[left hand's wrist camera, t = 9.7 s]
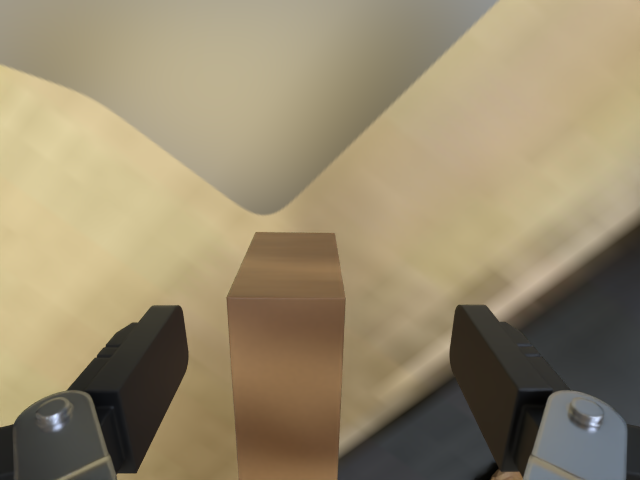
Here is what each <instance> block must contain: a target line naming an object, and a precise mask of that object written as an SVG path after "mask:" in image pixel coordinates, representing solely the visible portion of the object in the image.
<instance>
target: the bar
mask: <svg viewBox="0 0 640 480" xmlns="http://www.w3.org/2000/svg"><path fill="white" fill-rule="evenodd" d="M227 312H228V326H229V341H230V356H231V370H232V385H233V400H234V415H235V429H236V444H237V459H238V473H239V480H337V476H338V453H339V431H340V409H341V386H342V364H343V342H344V320H345V293H344V287H343V281H342V275H341V268H340V262H339V256H338V250H337V244H336V237H335V233H275V232H256V233H255V235H254V237H253V239H252V241H251V244H250V246H249V248H248V250H247V253H246V255H245V257H244V259H243V262H242V264H241V266H240V268H239V271H238V273H237V275H236V277H235V280H234V282H233V284H232V287H231V289H230V291H229V293H228V296H227Z"/></svg>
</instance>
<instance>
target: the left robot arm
mask: <svg viewBox="0 0 640 480" xmlns="http://www.w3.org/2000/svg"><path fill="white" fill-rule="evenodd" d="M450 364H451V368H452V371H453V374H454V376H455V378H456V380H457V382H458V384H459V386H460V388H461V390H462V392H463V395H464V397H465V399H466V401H467V403H468V405H469V407H470V409H471V411H472V413H473V415H474V417H475V419H476V422H477V424H478V426H479V428H480V430H481V432H482V434H483V436H484V438H485V440H486V442H487V444H488V446H489V449H490V451H491V453H492V455H493V457H494V459H495V461H496V463H497V465H498V467H499V469H500V471H501V472H520V474H521V476H522V477H523V480H640V427H638V426H634V425H629V424H626V423H625V421H624V419H623V418H622V417H621V415H620V414H619V413H618V412H617V411H616V410H614V409H613V408H612V407H611V406H609V405H608V404H606V403H605V402H603V401H601V400H599V399H597V398H595V397H593V396H590V395H588V394H585V393H581V392H577V391H571V390H570V389H569V388H568V386H567V385H566V384H565V383H564V382H563V381H562V379H561V378H560V377H559V376H558V375H557V373H556V372H555V371H554V370H553V369H552V368H551V366H550V365H549V364H548V363H547V362H546V361H545V359H544V358H543V357H540V354H539V352H538V351H537V350H536V349H535V348H534V347H532V344H531V343H530V342H529V341H528V340H527V338H526V337H525V336H524V335H523V334H522V332H520V331H519V330H517V329H515V328H514V327H512V326H511V325H509V324H508V323H506V322H499V321H498V320H497V318H496V317H495V316H494V315H493V313H492V312H491V311H490V310H489V308H488V307H487V306H486V305H458V306H457V307H456V310H455V315H454V322H453V330H452V337H451V345H450ZM187 365H188V345H187V338H186V331H185V323H184V316H183V311H182V308H181V307H180V306H179V305H154V306H151V307H150V309H149V310H148V311H147V312H146V314H145V315H144V316H143V317H142V319H141V320H140V321H139V322H138V323H131V324H130V325H128V326H126V327H125V328H123V329H122V330H120V331H119V332H117V333H116V334H115V335H114V336H113V337H112V338H111V340H110V341H109V342H108V343H107V344H106V347H105V348H103V349H102V350H101V351H100V352H99V354H98V355H97V358H94V359H93V361H92V362H91V363H90V364H89V365H88V366H87V368H86V369H85V370H84V371H83V372H82V373H81V374H80V376H79V377H78V378H77V379H76V380H75V381H74V383H73V384H72V385H71V386H70V387H69V388H68V390H67V391H63V392H59V393H55V394H52V395H50V396H47V397H45V398H43V399H41V400H39V401H37V402H35V403H34V404H32V405H31V406H29V407H28V408H27V409H26V410H24V411H23V412H22V413H21V414H20V415H19V417H18V418H17V419H16V421H15V423H14V424H13V425H9V426H5V427H0V480H117V476H116V475H117V473H137V471H138V469H139V467H140V465H141V463H142V461H143V459H144V457H145V455H146V453H147V450H148V448H149V446H150V444H151V442H152V440H153V438H154V436H155V434H156V432H157V430H158V428H159V426H160V424H161V422H162V420H163V418H164V416H165V413H166V411H167V409H168V407H169V405H170V403H171V401H172V399H173V397H174V395H175V393H176V391H177V389H178V387H179V385H180V383H181V381H182V379H183V377H184V374H185V372H186V369H187Z"/></svg>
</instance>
